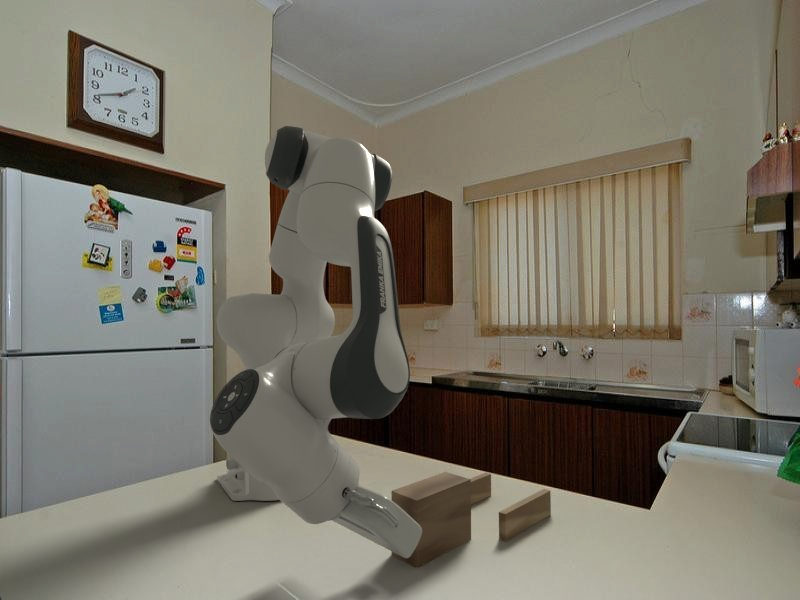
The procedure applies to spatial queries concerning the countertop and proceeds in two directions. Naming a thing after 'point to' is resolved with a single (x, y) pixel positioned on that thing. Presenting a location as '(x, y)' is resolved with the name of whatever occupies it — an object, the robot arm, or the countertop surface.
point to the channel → (513, 508)
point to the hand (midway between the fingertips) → (382, 538)
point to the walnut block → (437, 514)
